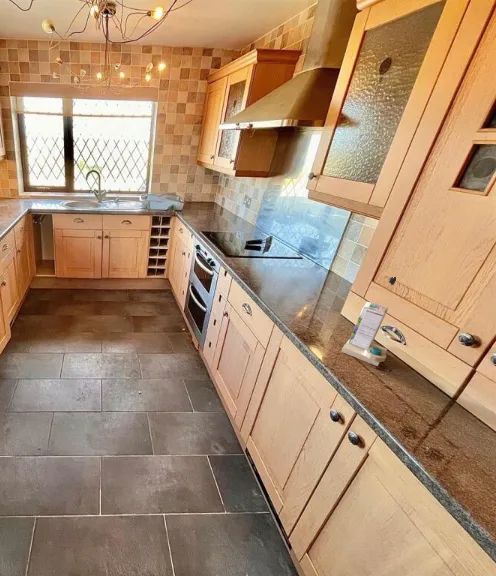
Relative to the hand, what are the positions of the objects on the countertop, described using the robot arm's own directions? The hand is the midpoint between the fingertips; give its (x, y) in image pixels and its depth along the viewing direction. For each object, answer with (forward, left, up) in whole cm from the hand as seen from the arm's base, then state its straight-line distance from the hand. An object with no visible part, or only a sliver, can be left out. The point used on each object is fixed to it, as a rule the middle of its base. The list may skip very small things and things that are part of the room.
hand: (410, 286), depth 94 cm
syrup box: (+5, +4, -23) cm, 24 cm away
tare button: (+1, +9, -21) cm, 23 cm away
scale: (+4, +6, -25) cm, 25 cm away
